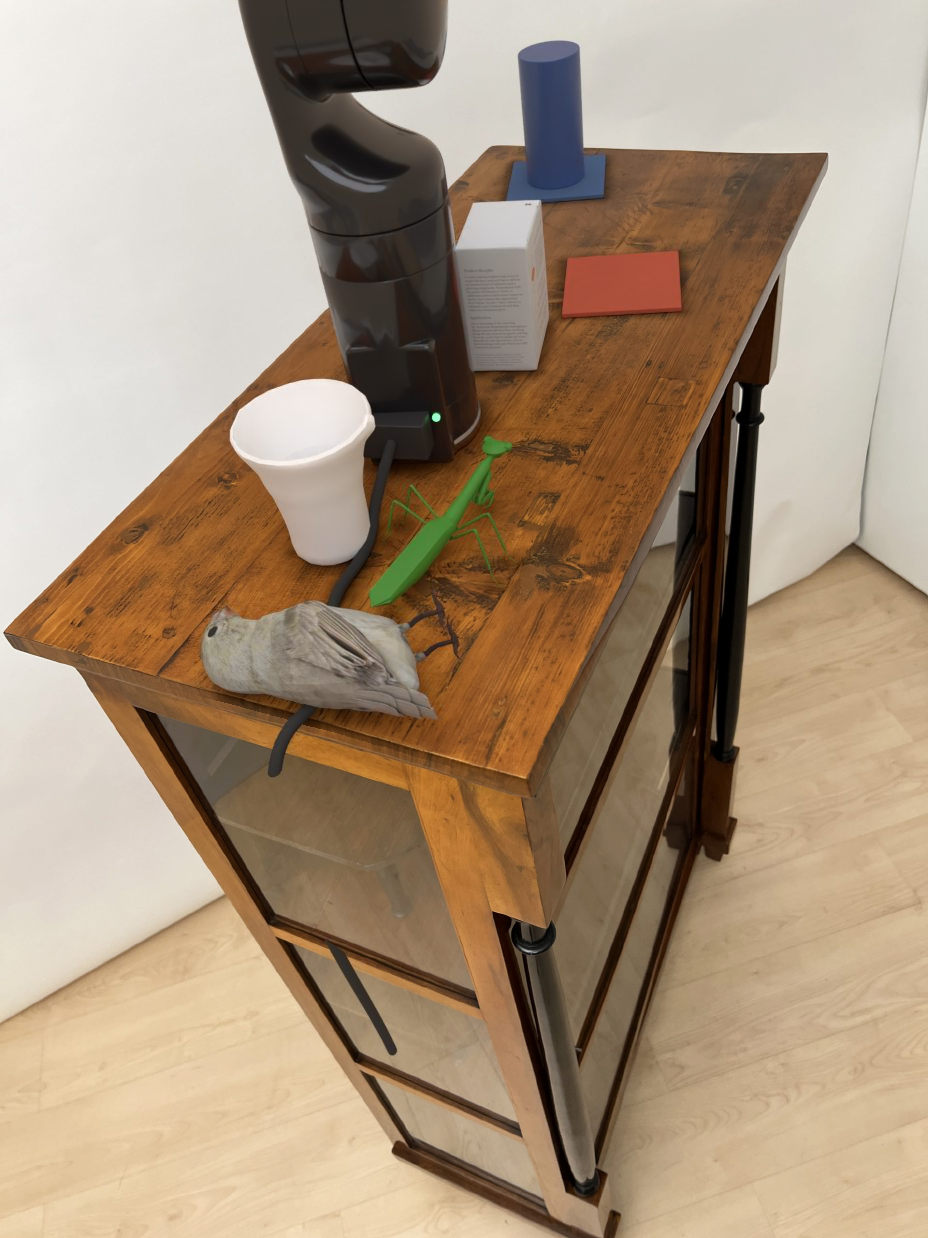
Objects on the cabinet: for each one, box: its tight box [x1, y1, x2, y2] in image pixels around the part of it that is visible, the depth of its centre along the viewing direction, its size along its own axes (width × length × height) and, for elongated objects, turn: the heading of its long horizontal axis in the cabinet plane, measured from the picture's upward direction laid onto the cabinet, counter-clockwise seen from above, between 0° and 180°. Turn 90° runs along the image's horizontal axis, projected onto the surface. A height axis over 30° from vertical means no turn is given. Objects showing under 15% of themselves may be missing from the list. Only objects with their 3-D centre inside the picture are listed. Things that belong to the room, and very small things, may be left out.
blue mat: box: [505, 153, 607, 204], centre depth 100 cm, size 10×10×1 cm
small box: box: [456, 200, 550, 372], centre depth 75 cm, size 8×6×10 cm
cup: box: [229, 378, 375, 566], centre depth 61 cm, size 9×9×10 cm
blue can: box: [517, 39, 585, 189], centre depth 96 cm, size 6×6×12 cm
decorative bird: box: [200, 582, 463, 721], centre depth 54 cm, size 5×16×7 cm
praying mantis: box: [368, 435, 515, 608], centre depth 61 cm, size 9×15×4 cm, turn 146°
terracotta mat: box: [561, 250, 683, 319], centre depth 83 cm, size 10×10×1 cm
